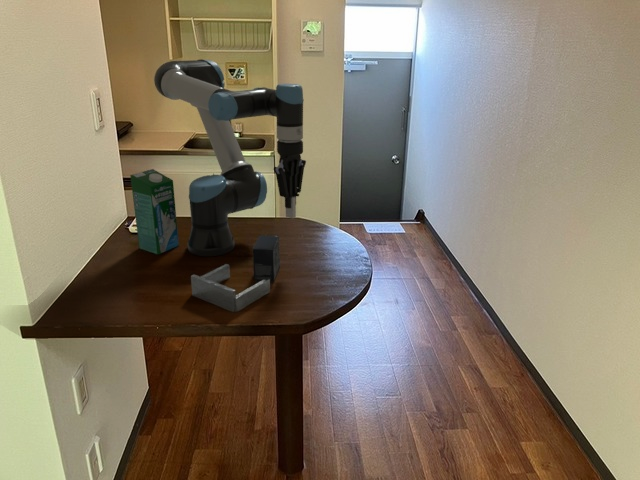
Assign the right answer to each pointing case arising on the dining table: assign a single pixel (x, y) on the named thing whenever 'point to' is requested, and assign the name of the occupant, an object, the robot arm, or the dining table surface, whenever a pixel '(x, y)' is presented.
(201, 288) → the grey u-shaped bracket
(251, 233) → the dining table surface
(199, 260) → the dining table surface
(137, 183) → the milk carton
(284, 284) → the dining table surface
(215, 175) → the robot arm
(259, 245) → the small box
